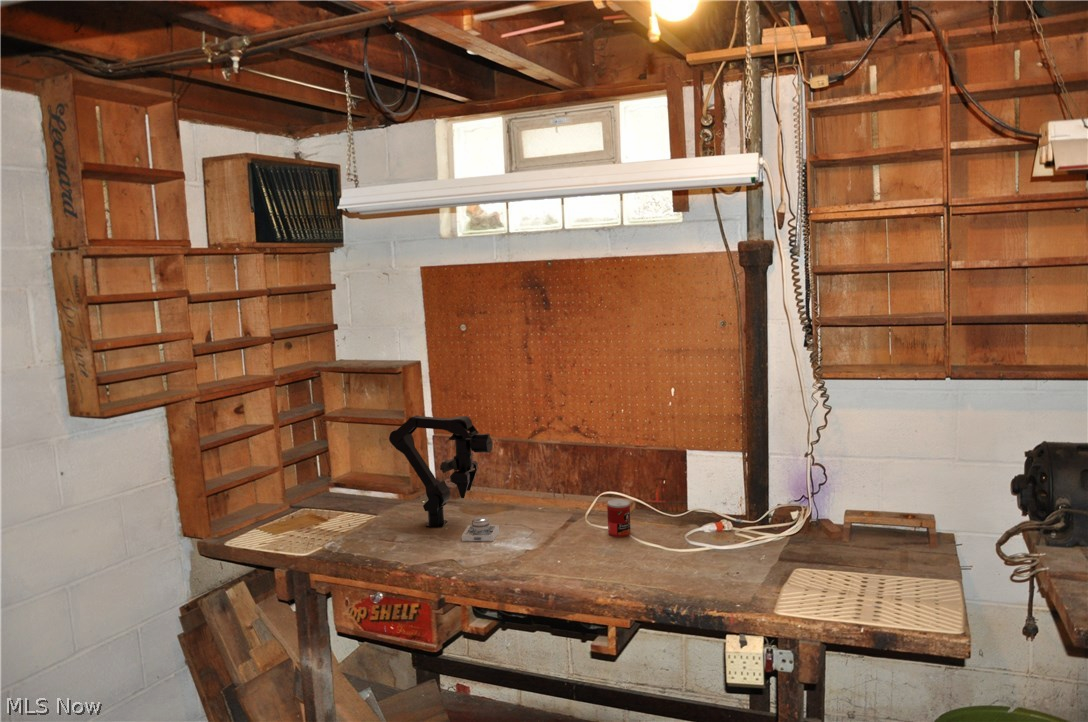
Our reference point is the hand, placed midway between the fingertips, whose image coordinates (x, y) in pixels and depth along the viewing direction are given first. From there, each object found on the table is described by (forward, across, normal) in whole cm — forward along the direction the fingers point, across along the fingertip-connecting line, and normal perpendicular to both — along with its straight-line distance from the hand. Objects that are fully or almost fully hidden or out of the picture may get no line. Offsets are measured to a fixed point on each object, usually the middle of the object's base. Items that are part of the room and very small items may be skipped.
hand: (465, 494), depth 287 cm
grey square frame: (+12, +10, +7) cm, 17 cm away
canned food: (+12, +7, +55) cm, 57 cm away
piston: (+12, +9, +7) cm, 17 cm away
